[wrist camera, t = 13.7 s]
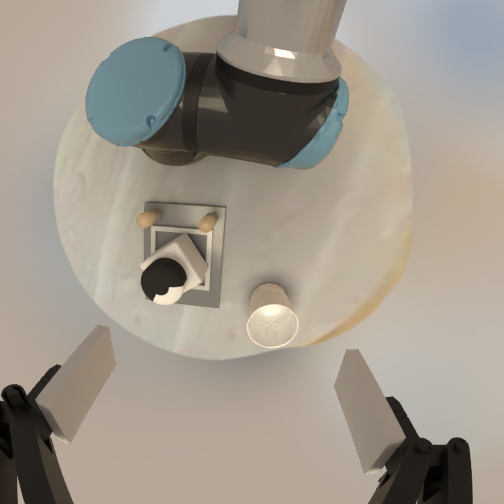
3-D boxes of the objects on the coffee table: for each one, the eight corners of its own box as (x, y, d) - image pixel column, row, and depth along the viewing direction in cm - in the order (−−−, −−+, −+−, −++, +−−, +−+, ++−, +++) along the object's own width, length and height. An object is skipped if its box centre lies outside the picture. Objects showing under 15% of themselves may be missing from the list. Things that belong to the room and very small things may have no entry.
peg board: (147, 202, 46) (130, 207, 39) (225, 207, 46) (221, 212, 39) (147, 296, 50) (134, 313, 44) (219, 305, 51) (214, 324, 44)
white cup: (255, 323, 52) (256, 353, 42) (241, 287, 50) (239, 313, 40) (294, 310, 51) (303, 339, 42) (283, 273, 49) (290, 297, 40)
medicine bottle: (153, 252, 46) (125, 276, 34) (186, 231, 45) (165, 250, 33) (176, 286, 48) (155, 319, 36) (209, 267, 47) (196, 296, 35)
